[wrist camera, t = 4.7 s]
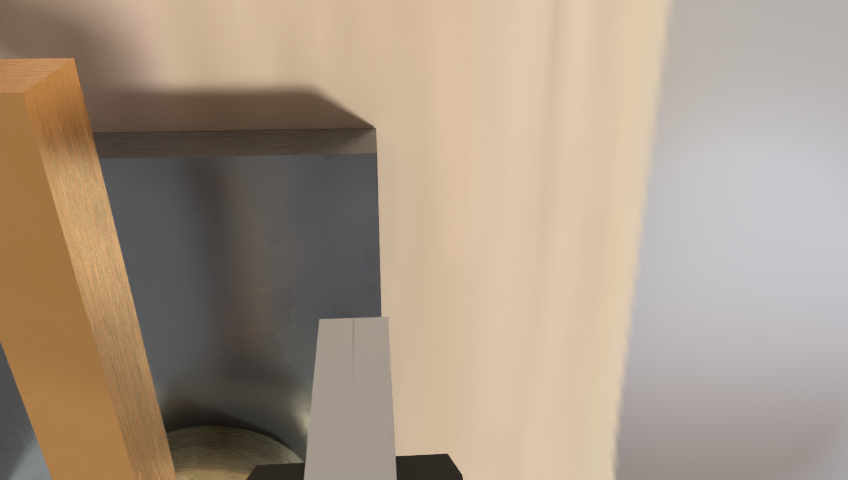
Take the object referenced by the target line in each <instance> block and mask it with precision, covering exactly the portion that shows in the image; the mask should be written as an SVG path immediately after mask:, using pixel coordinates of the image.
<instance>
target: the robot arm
mask: <svg viewBox="0 0 848 480" xmlns="http://www.w3.org/2000/svg"><path fill="white" fill-rule="evenodd" d="M246 480H463V477H462V474H461V473H460V471H459V470H458V468H457V467H456V465H455V464H454V463H453V461H452V460H451V458H450V457H449V455H448V454H434V455H414V456H395V438H394V419H393V401H392V382H391V364H390V345H389V326H388V317H368V318H339V319H319V328H318V339H317V349H316V359H315V370H314V380H313V390H312V401H311V411H310V421H309V432H308V442H307V453H306V463H287V464H268V465H256V466H255V467H254V469H253V470H252V472H251V473H250V475H249V476H248V478H247V479H246Z"/></svg>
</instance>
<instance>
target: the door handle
mask: <svg viewBox="0 0 848 480" xmlns="http://www.w3.org/2000/svg"><path fill="white" fill-rule="evenodd" d="M0 342H1V344H2V347H3V350H4V352H5V355H6V358H7V360H8V363H9V366H10V368H11V371H12V374H13V376H14V379H15V382H16V384H17V387H18V390H19V392H20V395H21V398H22V400H23V403H24V406H25V408H26V411H27V414H28V416H29V419H30V422H31V424H32V427H33V430H34V432H35V435H36V438H37V440H38V443H39V446H40V448H41V451H42V454H43V456H44V459H45V462H46V464H47V467H48V470H49V472H50V475H51V478H52V480H246V479H247V478H248V476H249V475H250V473H251V472H252V470H253V469H254V467H255V466H256V465H268V464H287V463H304V462H303V461H302V460H301V459H300V458H299V457H298V456H297V455H296V454H295V453H294V452H293V451H291V450H290V449H288V448H287V447H286V446H284V445H283V444H281V443H279V442H277V441H275V440H273V439H271V438H269V437H267V436H264V435H262V434H259V433H256V432H252V431H249V430H245V429H240V428H234V427H225V426H198V427H189V428H184V429H179V430H175V431H172V432H169V433H166V432H165V428H164V424H163V420H162V416H161V412H160V408H159V404H158V400H157V396H156V391H155V387H154V383H153V379H152V375H151V371H150V367H149V363H148V359H147V355H146V351H145V347H144V342H143V338H142V334H141V330H140V326H139V322H138V318H137V314H136V310H135V306H134V302H133V297H132V293H131V289H130V285H129V281H128V277H127V273H126V269H125V265H124V261H123V257H122V252H121V248H120V244H119V240H118V236H117V232H116V228H115V224H114V220H113V216H112V212H111V207H110V203H109V199H108V195H107V191H106V187H105V183H104V179H103V175H102V171H101V167H100V163H99V158H98V154H97V150H96V146H95V142H94V138H93V134H92V130H91V126H90V122H89V118H88V113H87V109H86V105H85V101H84V97H83V93H82V89H81V85H80V81H79V77H78V73H77V68H76V64H75V60H74V58H30V59H0Z"/></svg>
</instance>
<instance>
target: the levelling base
mask: <svg viewBox="0 0 848 480" xmlns="http://www.w3.org/2000/svg"><path fill="white" fill-rule="evenodd" d="M92 134H93V138H94V142H95V146H96V150H97V154H98V158H99V163H100V167H101V171H102V175H103V179H104V183H105V187H106V191H107V195H108V199H109V203H110V207H111V212H112V216H113V220H114V224H115V228H116V232H117V236H118V240H119V244H120V248H121V252H122V257H123V261H124V265H125V269H126V273H127V277H128V281H129V285H130V289H131V293H132V297H133V302H134V306H135V310H136V314H137V318H138V322H139V326H140V330H141V334H142V338H143V342H144V347H145V351H146V355H147V359H148V363H149V367H150V371H151V375H152V379H153V383H154V387H155V391H156V396H157V400H158V404H159V408H160V412H161V416H162V420H163V424H164V428H165V432H166V433H169V432H172V431H175V430H179V429H184V428H189V427H198V426H225V427H234V428H240V429H245V430H249V431H252V432H256V433H259V434H262V435H264V436H267V437H269V438H271V439H273V440H275V441H277V442H279V443H281V444H283V445H284V446H286V447H287V448H288V449H290V450H291V451H293V452H294V453H295V454H296V455H297V456H298V457H299V458H300V459H301V460H302V461H303V462H304V463H306V453H307V442H308V432H309V421H310V411H311V401H312V390H313V380H314V370H315V359H316V349H317V339H318V328H319V319H339V318H368V317H381V289H380V251H379V213H378V176H377V144H376V128H362V129H306V130H250V131H194V132H138V133H92ZM0 480H52V478H51V475H50V472H49V470H48V467H47V464H46V462H45V459H44V456H43V454H42V451H41V448H40V446H39V443H38V440H37V438H36V435H35V432H34V430H33V427H32V424H31V422H30V419H29V416H28V414H27V411H26V408H25V406H24V403H23V400H22V398H21V395H20V392H19V390H18V387H17V384H16V382H15V379H14V376H13V374H12V371H11V368H10V366H9V363H8V360H7V358H6V355H5V352H4V350H3V347H2V344H1V342H0Z"/></svg>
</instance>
